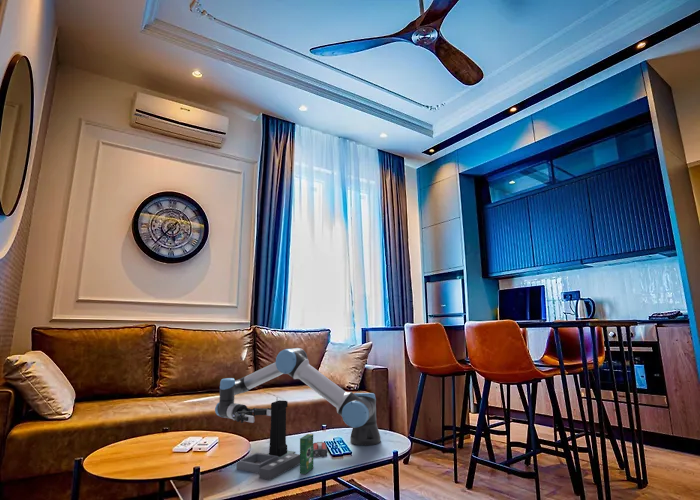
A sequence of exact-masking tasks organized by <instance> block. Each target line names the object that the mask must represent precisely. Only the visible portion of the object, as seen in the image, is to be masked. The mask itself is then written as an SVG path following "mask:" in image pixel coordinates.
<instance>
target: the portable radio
mask: <svg viewBox="0 0 700 500" xmlns="http://www.w3.org/2000/svg"><path fill="white" fill-rule="evenodd" d="M276 399H278V396H277V397H276ZM288 403H289V402H288V400H281V399H280V400H279V399H278V400H276V401H273V402H271V404H270V409H271V416H270V431H269V447H268V448H269V449H268V453H269V455H274V456H278V457H281V456H282V455H284V454H286V453H287V450H288V445H287V429H286V428H287V408H288V407H289V406H288Z"/></svg>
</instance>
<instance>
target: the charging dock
mask: <svg viewBox="0 0 700 500" xmlns="http://www.w3.org/2000/svg"><path fill="white" fill-rule="evenodd" d="M243 458H244V459H243ZM243 458H241V459H242V460H241V459H240V460H241V461H239V462H238V463H237V462H236V470H239V471H244V472H249V473H256V474H258V475H259V477H258V479H262V480H266V481H271V480H273V479H274V478H276V477H278V476H280V475H283V473H285V472H287V471H289V470H291V469H293V468H295V467H296V466H298V465H300V453H299V454H298V453H294V454H293V453H290V454H288V455H286V456H284V457H282V458H280V459H278V456H274V455H268V453H262V452H255V453H252V454H250V455H248V456H246V457H243ZM256 462H257V463H256ZM258 462H260V463H258Z"/></svg>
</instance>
